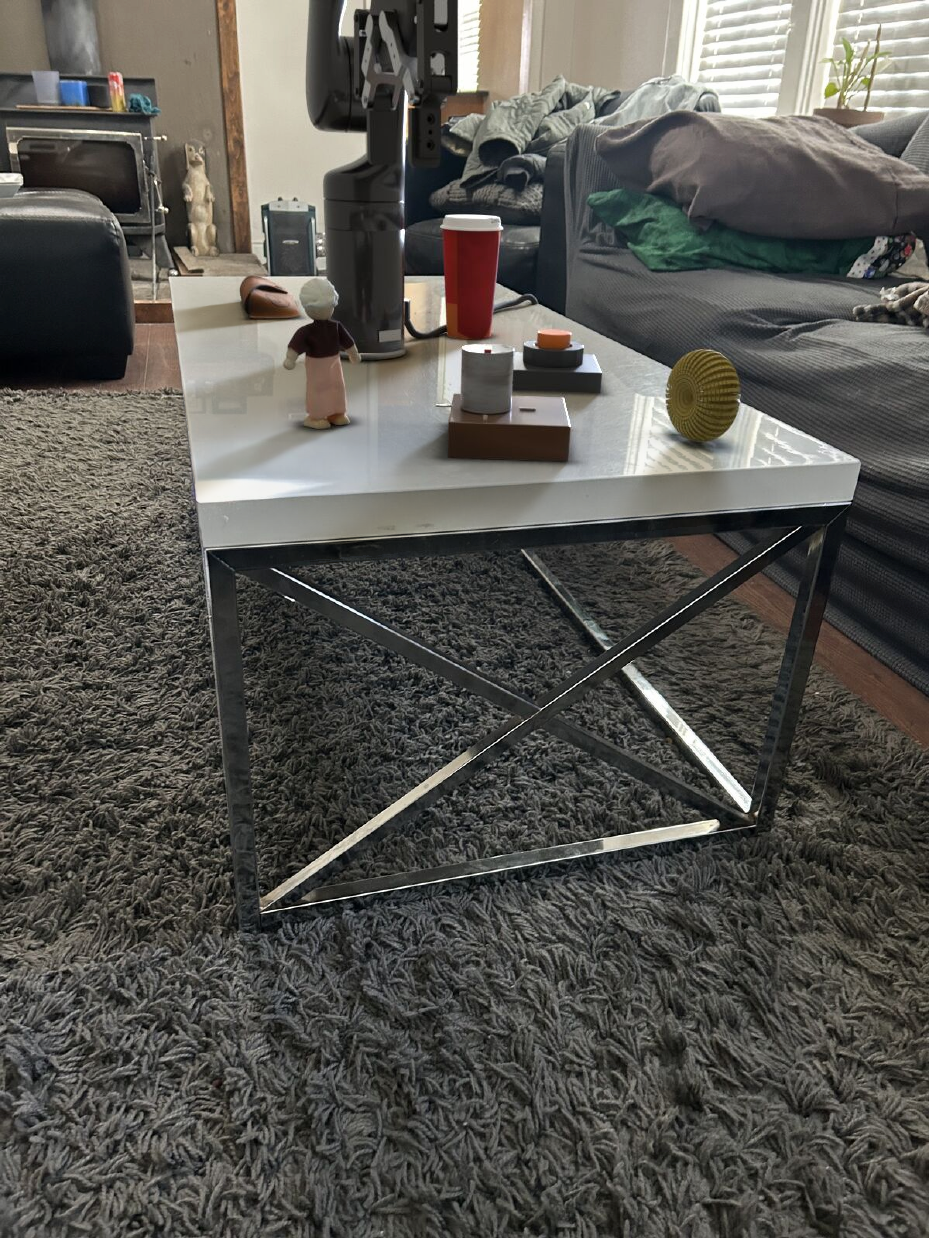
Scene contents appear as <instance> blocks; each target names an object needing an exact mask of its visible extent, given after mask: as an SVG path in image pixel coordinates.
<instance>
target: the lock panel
mask: <svg viewBox="0 0 929 1238" xmlns="http://www.w3.org/2000/svg"><path fill="white" fill-rule="evenodd" d="M460 400H461V393H453V396H452V401H451V404H449V403H444V404H443V403H436V404H435V407H436V408H450V411H449V416H448V420H447V421H448V422H447V425H448V426H447V458H459V459H484V460H485V459H487V460H511V461H512V460H513V461H537V462H539V461H540V462H541V461H542V462H569V456H570V455H569V454H570V443H571V429H572V427H571V422H570V419H569V414H568V411H567V405H566V402H565V398H564V397H561V396H559V397H558V396H557V397H556V396H531V395H512V406H511V410H509V411H507V412H504V413H497V414H481V413H473V412H469V411H465V410H463V409H462V408H461V407H460Z"/></svg>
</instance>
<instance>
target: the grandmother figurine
mask: <svg viewBox="0 0 929 1238" xmlns="http://www.w3.org/2000/svg"><path fill="white" fill-rule="evenodd" d="M299 292H300V293H299V294H298V296H299V297H298V299H299V301H300V305H301V306H302V308H303V309H304V313H305V314H306V316H307V317H308V318H309V319H310V320H313V321H312V322H310V323H307V324H305V325H302V326H300V327H299V328H297V330H296V331H295V332H294V334H293V335H292V337H291V338H290V341H288V344H287V351H286V353H285V359H284V360H283V363H282V366H283V369H285V370H287V371H293V370H294V369H295V368H296V362H297V361H298V359H299V357H300V356H302V355H303V354H304V368H305V377H306V381H305V382H306V383H305V412H306V414H308V415H307V416H306V417H305V419H304V420H303V422H302V423H303V426H305V427H308V428H312V429H315V430H316V429H317V430H324V429H329V428H331V424H333V425H336V426H342V425H349V424H350V423H351V421H350V419H349V417H348V415H347V412H348V407H347V406H348V405H347V392H346V385H345V384H346V383H345V379H344V373H343V368H342V362H341V357H340V355H339V346H340V347H342V348H344V349H345V351H346V353H347V355H348V356H349V357H350V359H349V361H350V363H351V364H353V365H358V364H360V363H361V361H362V360H361V357H360V355H359V354H358V353H357V348H356V346H355V343H354V340H353V339H352V337H351V336H350V335H349V333H348V332H347V331H346V329H345V328H344V327H343V326H342V324H341V323H340V322H338V321H333V320H328V319H329V318H330V317H331V315H332V313H333V310H334V307H335V306H336V305H338V303H337V299H338V294H337V292H336V291H335V290H334V286H333V285H332V284H331V283H330V282H329V281H328V280H327V278H322V277H314V278H311V279H309V280H308V281H307V282H305V283H303V284H302V286H301V288H300V291H299Z"/></svg>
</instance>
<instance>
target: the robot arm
mask: <svg viewBox="0 0 929 1238" xmlns="http://www.w3.org/2000/svg"><path fill="white" fill-rule="evenodd" d="M347 3H348V0H308V14H307V34H306V35H307V36H306V39H307V40H306V53H305V55H306V56H305V100H306V109H307V114H308V118H309V119H310V120H309V121H310V122H311V124H312V125H313V127H314V128H315V129H316V130H318V131H321V132H325V133H341V134H342V133H343V134H363V135H364V134H366V146H367V147H366V152H365V153H364V154H363V155H361V156H360V157H358V158H357V159H355V160H353V161H351V162H349V163H346V164H343V165H340V166H338V167H334V168H333V169H332V168H331V169H330V170H328V171H327V172H326V173H325V174H324V175H323V181H322V190H323V191H322V192H323V221H324V223H323V224H324V245H325V246H324V247H325V273H326V274H325V277H326V278H325V279H327V280H328V281H329V282H330V283H331V284H332V285H333V286H334V290H335V291H336V292H337V294H338V299H337V303H338V305H336V306H335V307H334V310H333V313H332V315H331V317H330V318H329V319H328V320H333V321H338V322H340V323H341V324H342V326H343V327H344V328H345V329H346V331H347V332H348V333H349V335H350V336H351V337H352V339H353V340H354V343H355V346H356V348H357V353H358V354H359V355H360V357H361V361H362V360H363V361H364V360H365V361H372V360H373V361H374V360H375V361H377V360H389V359H394V358H399V357H402V356H404V355H405V354H406V344H405V329H406V331H407V332H408V334H409V335H410V336H411V337H412V338H413V339H416V340H427V339H434V338H437V337H440V336H442V335H443V334H447V325H446V324H443V325H441V326H439V327H437V328H435V329H433V330H431V331H427V332H422V331H419V330H417V329H416V328H415V327H414V325H413V323H412V320H411V298H405V182H406V181H405V180H406V177H405V176H406V141H407V163H408V165H409V166H410V167H411V168H414V169H415V168H416V169H438V167H439V166H440V165H441V159H442V158H441V156H442V148H441V147H442V109H441V108H443V109H445V107H446V105H447V101H448V97H455V96H457V93H458V89H459V0H370V7H369V8H365V9H364V8H355V9H354V13H353V36H349V35H348V36H347V35H341V28H342V23H343V19H344V14H345V11H346V6H347ZM443 73H444V74H443ZM408 105H409V106H410V107H408ZM406 135H407V137H406ZM406 138H407V139H406ZM527 301H529V302H530V303H531V304H532V305H539V302H538V299H537V298H536V297H535V296H534V295H533V294H531V293H525V294H523V295H521V296H519V297H517V298H515V299H511V300H506V301H501V302H498V303H494V309H493V313H494V312H496V311H500V310H504V309H508V308H512V307H517V306H519V305H521V304H522V303H524V302H527ZM339 355H340V359H348V360H350V357H349V356H348V355H347V353H346V351H345V349H344V348H342V347H340V346H339Z"/></svg>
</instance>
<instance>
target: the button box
mask: <svg viewBox="0 0 929 1238" xmlns="http://www.w3.org/2000/svg"><path fill="white" fill-rule="evenodd" d="M584 349H585V347H584V345H583V344H582V343H579V342H575V341H571V340H570V348H563V349H552V348H543V347H538V346H537V339H531V340H528V341H524V342H523V346H522V351H514V365H513V386H512V391H522V392H523V391H525V392H553V393H577V394H578V393H579V394H582V393H583V394H584V393H585V394H601V392H602V391H601V390H602V379H603V373H602V369H601V368H600V365H599V363H598V361H597V359H596V356H595V354H593V353H584V351H585V350H584Z"/></svg>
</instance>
